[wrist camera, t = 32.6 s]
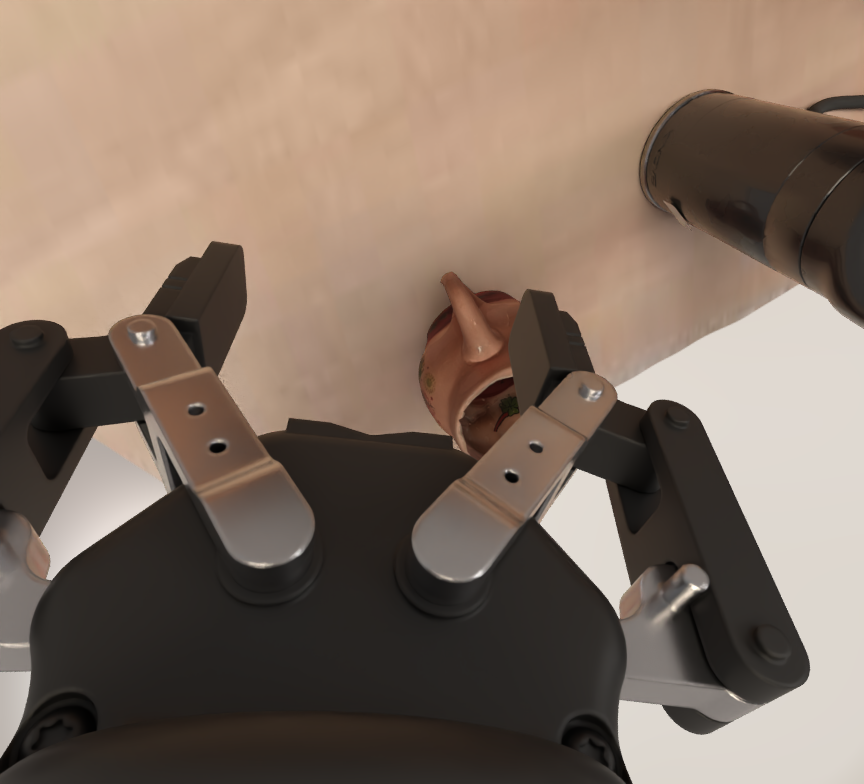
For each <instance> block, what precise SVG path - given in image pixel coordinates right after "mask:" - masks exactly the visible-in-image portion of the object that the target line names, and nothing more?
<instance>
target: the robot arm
mask: <svg viewBox="0 0 864 784" xmlns="http://www.w3.org/2000/svg"><path fill="white" fill-rule="evenodd" d="M855 108H864V95H859V96H839V97H831V98H827V99H824V100H822V101H820V102H818V103H817V104H815V105H814V106H812V107H811V108H810V109H809V111H808V110H803V109H799V108H794V107H789V106H785V105H780V104H775V103H771V102H766V101H761V100H757V99H753V98H748V97H744V96H739V95H734V94H733V93H730V92H727V91H723V90H717V89H707V90H702V91H698V92H695V93H693V94H691V95H688V96H687V97H685V98H683V99H682V100H680V101H679V102H677V103H676V104H675V105H674V106H672V107H671V108H670V109H669V110H668V111H667V112H666V113H665V114H664V115H663V117H662V118H661V119H660V120H659V122H658V123H657V124H656V126H655V127H654V129H653V131H652V132H651V134H650V136H649V138H648V140H647V143H646V145H645V148H644V151H643V154H642V158H641V164H640V180H641V185H642V189H643V191H644V193H645V195H646V197H647V199H648V200H649V201H650V202H651V203H652V204H653V205H655V206H656V207H658V208H660V209H662V210H664V211H666V212H669V213H672V214H674V216H675V217H676V218H677V220H678V221H679V222H680V224H681V225H683V226H684V227H686V228H688V229H690V230H691V228H690V227H689V226H688V224H687V223H686V222H688V223H689V224H691V225H693V226H695V227H697V228H698V229H700V230H702V231H704V232H706V233H708V234H709V235H711V236H713V237H715V238H717V239H719V240H720V241H722V242H724V243H726V244H728V245H730V246H731V247H733V248H735V249H737V250H739V251H740V252H742V253H744V254H746V255H748V256H750V257H751V258H753V259H755V260H757V261H759V262H761V263H762V264H764V265H766V266H768V267H770V268H772V269H773V270H775V271H777V272H779V273H781V274H783V275H785V276H787V277H788V278H790V279H792V280H794V281H796V282H798V283H799V284H801V285H803V286H805V287H807V288H809V289H811V290H813V291H814V292H816V293H818V294H820V295H822V296H823V297H825V298H827V299H828V300H829V302H830V303H831V304H832V306H833V307H834V308H835V309H836V310H837V311H838V312H839V313H840V314H841V315H843V316H844V317H846V318H847V319H849V320H850V321H852V322H854V323H855V324H857V325H858V326H860V327H862V328H863V329H864V122H859V121H855V120H850V119H845V118H841V117H836V116H831V115H827V114H823V113H824V112H827V111H830V110H836V109H855ZM685 221H686V222H685ZM246 304H247V290H246V277H245V265H244V253H243V248H242V246H241V245H235V244H228V243H221V242H215V241H212V242H211V243H210V245H209V246H208V248H207V249H206V251H205V253H204V254H203V256H202V257H201V258H198V257H189V258H187V259H185V260H184V261H182V262H180V263H179V264H177V265H176V266H175V267H174V269H173V270H172V272H171V273H170V274H169V276H168V278H167V279H166V280H165V282H164V283H163V285H162V288H160V289H159V291H158V292H157V293H156V295H155V296H154V298H153V299H152V301H151V302H150V304H149V305H148V307H147V308H146V310H145V311H144V313H143V314H142V315H135V316H131V317H127V318H125V319H122V320H120V321H119V322H117V323H116V324H114V325H113V326H112V327H111V329H110V330H109V333H108V335H107V336H100V337H87V338H73V339H69V338H68V336H67V333H66V331H65V329H64V328H63V327H62V326H61V325H59V324H57V323H55V322H51V321H45V320H29V321H23V322H18V323H15V324H11V325H9V326H7V327H5V328H3V329H1V330H0V672H13V671H14V672H18V671H19V672H20V671H31V680H30V687H29V694H28V698H27V703H26V707H25V711H24V714H23V718H22V720H21V723H20V725H19V728H18V730H17V732H16V734H15V736H14V738H13V739H12V741H11V743H10V744H9V746H8V748H7V749H6V751H5V752H4V754H3V755H2V757H1V758H0V784H632V781H631V779H630V777H629V774H628V772H627V770H626V766H625V764H624V761H623V758H622V755H621V751H620V746H619V740H618V705H619V700H626V701H634V702H643V703H651V704H660V705H662V706H663V708H664V710H665V711H666V713H667V714H668V715H669V716H670V717H671V719H672V720H673V721H674V722H675V723H677V724H678V725H679V726H680V727H682V728H683V729H685V730H687V731H689V732H692V733H695V734H701V735H702V734H708V733H711V732H713V731H715V730H717V729H719V728H721V727H723V726H725V725H727V724H728V723H730V722H732V721H734V720H736V719H738V718H740V717H742V716H744V715H746V714H748V713H749V712H751V711H754V710H755V709H757V708H759V707H761V706H763V705H765V704H767V703H769V702H771V701H773V700H774V699H777V698H778V697H780V696H782V695H784V694H786V693H788V692H790V691H792V690H794V689H796V688H797V687H800V686H801V685H803V684H804V683H805V682H806V680H807V679H808V676H809V672H810V663H809V659H808V655H807V652H806V650H805V648H804V646H803V643H802V641H801V639H800V637H799V634H798V632H797V630H796V628H795V626H794V624H793V621H792V619H791V617H790V615H789V613H788V610H787V608H786V606H785V604H784V602H783V599H782V597H781V595H780V593H779V591H778V589H777V586H776V584H775V582H774V580H773V578H772V575H771V573H770V571H769V569H768V567H767V565H766V562H765V560H764V558H763V556H762V554H761V551H760V549H759V547H758V545H757V543H756V540H755V538H754V536H753V534H752V532H751V530H750V527H749V525H748V523H747V521H746V519H745V516H744V514H743V512H742V510H741V508H740V506H739V504H738V501H737V499H736V497H735V495H734V493H733V490H732V488H731V486H730V484H729V481H728V479H727V477H726V475H725V473H724V471H723V469H722V466H721V464H720V462H719V460H718V457H717V455H716V453H715V451H714V449H713V447H712V445H711V442H710V440H709V438H708V436H707V433H706V431H705V429H704V427H703V425H702V423H701V421H700V419H699V418H698V417H697V416H696V415H695V414H694V413H693V412H692V411H691V410H689V409H688V408H687V407H685V406H683V405H681V404H679V403H677V402H674V401H669V400H656V401H654V402H653V403H651V405H650V406H649V408H648V409H647V411H646V410H643V409H640V408H638V407H635V406H632V405H629V404H626V403H624V402H622V401H620V400H618V399H617V392H616V390H615V388H614V387H613V386H612V384H611V383H609V382H608V381H607V380H606V379H604V378H603V377H601V376H599V375H597V374H595V371H594V369H593V366H592V363H591V360H590V357H589V355H588V352H587V349H586V347H585V346H584V345H585V344H584V341H583V338H582V337H581V333H580V330H579V327H578V324H577V323H576V321H575V320H574V319H573V318H572V317H571V316H570V315H569V314H568V313H567V312H564V311H559V310H558V307H557V304H556V301H555V298H554V295H553V293H551V292H544V291H538V290H531V289H527V290H526V291H525V293H524V295H523V297H522V300H521V303H520V306H519V309H518V312H517V315H516V318H515V321H514V323H513V326H512V329H511V332H510V337H509V343H508V352H509V358H510V363H511V369H512V374H513V379H514V385H515V390H516V396H517V401H518V406H519V412H520V418H519V419H518V420H517V421H516V422H515V423H514V424H513V425H512V426H511V427H510V428H509V429H508V430H507V432H506V433H505V434H504V435H503V436H502V437H501V438H500V439H499V440H498V441H497V442H496V443H495V444H494V445H493V446H492V447H491V448H490V450H489V451H488V452H487V453H486V454H485V455H484V456H483V457H482V458H481V459H480V460H479V461H478V460H476V459H475V458H473V457H472V456H470V455H468V454H466V453H464V452H462V451H459V450H457V449H454V448H453V441H452V436H446V435H437V434H428V433H419V432H406V433H395V434H384V435H368V434H365V433H362V432H358V431H355V430H352V429H349V428H346V427H343V426H339V425H336V424H333V423H329V422H320V421H311V420H302V419H293V418H289V421H288V425H287V428H286V430H283V431H276V432H271V433H267V434H264V435H260V436H258V437H257V435H256V434H255V432H254V431H253V429H252V428H251V426H250V425H249V423H248V422H247V420H246V419H245V417H244V416H243V414H242V413H241V411H240V410H239V408H238V407H237V405H236V404H235V402H234V400H233V399H232V397H231V396H230V394H229V393H228V391H227V390H226V388H225V387H224V385H223V384H222V382H221V381H220V379H219V378H218V375H219V372H220V370H221V368H222V365H223V363H224V361H225V359H226V356H227V354H228V352H229V349H230V347H231V345H232V343H233V340H234V338H235V336H236V333H237V331H238V329H239V326H240V324H241V322H242V320H243V317H244V314H245V310H246ZM134 421H135V424H136V426H137V428H138V430H139V432H140V434H141V436H142V438H143V441H144V443H145V445H146V447H147V449H148V451H149V453H150V455H151V457H152V459H153V461H154V463H155V465H156V467H157V469H158V471H159V473H160V476H161V478H162V480H163V483H164V486H165V488H166V491H167V495H165V496H164V497H162V498H161V499H159V500H158V501H156V502H155V503H153V504H152V505H151V506H149V507H148V508H146V509H145V510H143V511H142V512H140V513H139V514H137V515H136V516H134V517H133V518H131V519H130V520H128V521H127V522H126V523H124V524H123V525H121V526H120V527H118V528H117V529H115V530H114V531H112V532H111V533H109V534H108V535H107V536H105V537H103V538H102V539H100V540H99V541H98V542H96V543H95V544H93V545H92V546H90V547H89V548H87V549H86V550H84V551H83V552H81V553H80V554H79V555H77V556H76V557H75V558H73V559H72V560H71V561H70V562H69V563H68V564H67V565H65V567H63V568H62V569H61V570H60V571H59V573H58V574H57V575H56V576H55V577H54V578H53V580H52V581H51V580H47V579H46V577H47V574H48V570H49V567H50V555H49V553H48V551H47V549H46V548H45V546H44V545H43V543H42V541H41V540H40V538H39V537H40V535H41V533H42V531H43V529H44V527H45V525H46V523H47V522H48V520H49V518H50V516H51V514H52V512H53V510H54V508H55V506H56V504H57V503H58V501H59V499H60V497H61V495H62V493H63V491H64V489H65V487H66V485H67V484H68V481H69V480H70V478H71V476H72V474H73V472H74V470H75V468H76V466H77V465H78V463H79V461H80V459H81V457H82V455H83V453H84V452H85V450H86V448H87V446H88V444H89V442H90V440H91V438H92V436H93V434H94V433H95V431H96V429H97V427H98V426H103V425H111V424H118V423H126V422H134ZM577 469H580V470H582V471H585V472H588V473H590V474H593V475H596V476H598V477H601V478H603V479H606V484H607V488H608V492H609V497H610V500H611V505H612V509H613V513H614V517H615V522H616V526H617V530H618V534H619V538H620V542H621V546H622V550H623V554H624V559H625V562H626V567H627V571H628V575H629V579H630V583H631V587H630V588H629V589H628V590H627V591H626V592H625V593H624V594H623V596H622V597H621V600H620V606H619V609H620V619H619V618H618V616H617V614H616V612H615V610H614V608H613V607H612V605H611V604H610V602H609V601H608V599H607V598H606V597H605V595H604V594H603V593H602V592H601V591H600V590H599V588H598V587H597V586H596V585H595V584H594V583H593V582H592V581H591V580H590V579H589V577H587V575H586V574H585V573H584V572H583V571H582V570H581V569H580V568H579V567H578V565H577V564H575V562H574V561H573V560H572V559H571V558H570V557H569V556H568V555H567V554H566V552H565V551H564V550H563V549H562V548H561V547H560V546H559V545H558V544H557V543H556V541H555V540H554V539H553V538H552V537H551V536H550V535H549V534H548V533H547V532H546V531H545V529H543V527H542V526H541V525H540V522H541V521H542V519H543V517H544V516H545V514H546V513H547V511H548V509H549V508H550V507H551V505H552V504H553V503H554V501H555V500H556V498H557V497H558V496H559V494H560V493H561V491H562V490H563V488H564V487H565V486H566V484H567V483H568V481H569V480H570V479H571V477H572V476H573V474H574V473H575V471H576V470H577Z"/></svg>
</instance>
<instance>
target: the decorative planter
mask: <svg viewBox="0 0 864 784" xmlns="http://www.w3.org/2000/svg"><path fill="white" fill-rule="evenodd" d="M441 283H442V284H443V286H444V287H445V290H446V292H447V294H448V297H449V299H450V302H451V306H449V307H448V308H446V309H445V310H444V311H443V312H442V313H441V314H440V315H439V316H438V317H437V318H436V319H435V321H434V322H433V323H432V325H431V327H430V329H429V331H428V334H427V344H426V348H425V352H424V354H423V356H422V358H421V361H420V366H419V383H420V387H421V392H422V395H423V398H424V401H425V403H426V405H427V407H428V409H429V411H430V413H431V414H432V416H433V417H434V419H435V420H436V422H437V423H438V424H439V426H440V427H441V428H442V429H443V430H444V431H445V432H446V433H448V434H449V435H450V436H452V437H453V438H454V440H455V441H456V443H457V445H458V447H459V448H460V449H461V451H462V452H464V453H466V454H468V455H470V456H472V457H473V458H475V459H476V460H478V461H479V460H480V459H481V458H482V457H483V456H484V455H485V454H486V453H487V452H488V451H489V450H490V448H491V447H492V446H493V445H494V444H495V443H496V442H497V441H498V440H499V439H500V438H501V437H502V436H503V435H504V434H505V433H506V432H507V430H508V429H509V428H510V427H511V426H512V425H513V424H514V423H515V422H516V421H517V420H518V419H519V418H520V412H519V406H518V401H517V396H516V390H515V385H514V379H513V374H512V369H511V363H510V358H509V352H508V343H509V337H510V332H511V329H512V326H513V323H514V321H515V318H516V315H517V312H518V309H519V306H520V302H519V301H517V300H516V299H514V298H513V297H511V296H510V295H508V294H506V293H504V292H500V291H484V292H480V293H476V294H474V293H473V292H472V291H471V290H470V289H468V288H467V287H466V286H465V285H464V284H463V283H462V282H461V280H460V279H459V278H458V277H457V275H456V274H454V273H453V272H449V273H446V274H445V275H444V276H443V277H442V279H441Z"/></svg>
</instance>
